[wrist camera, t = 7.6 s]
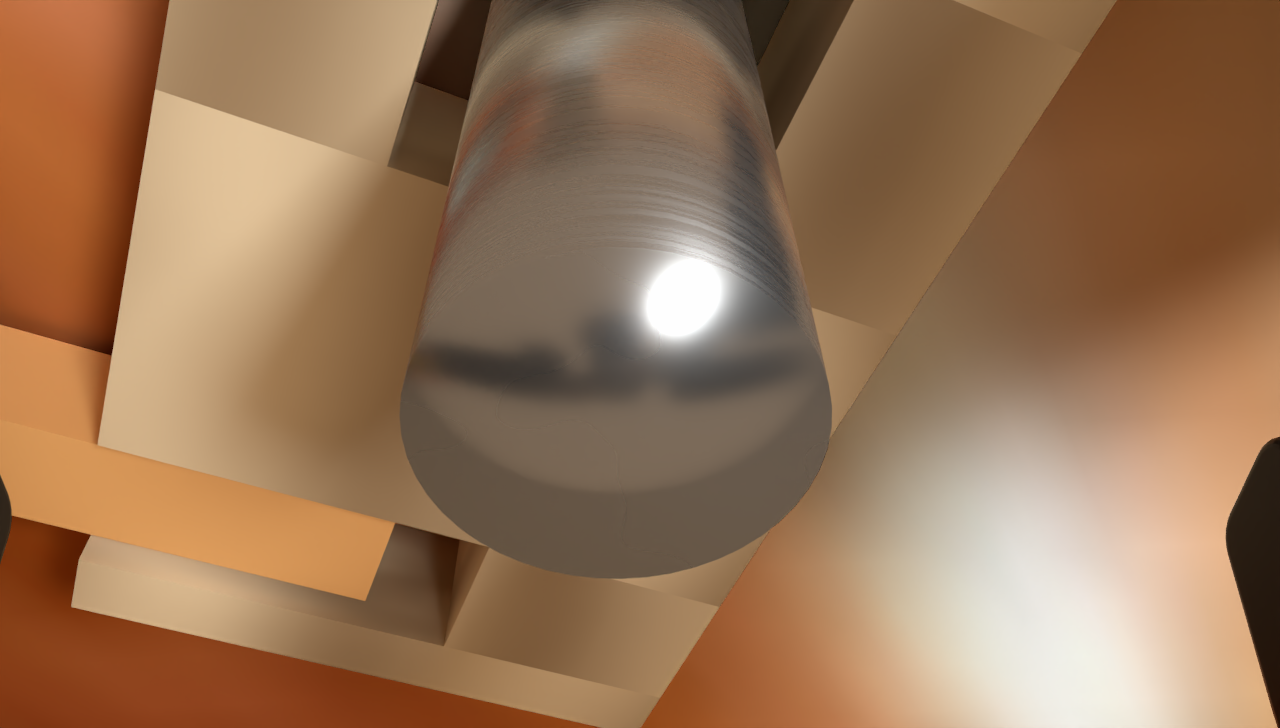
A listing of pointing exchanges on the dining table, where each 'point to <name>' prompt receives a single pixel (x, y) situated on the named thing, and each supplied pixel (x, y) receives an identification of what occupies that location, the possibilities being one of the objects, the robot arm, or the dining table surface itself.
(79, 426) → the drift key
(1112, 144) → the dining table surface
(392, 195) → the socket block
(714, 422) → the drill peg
